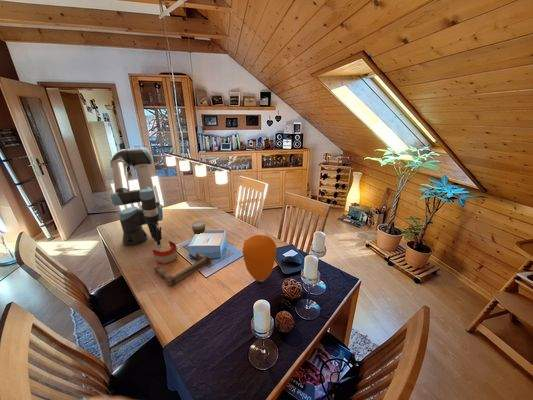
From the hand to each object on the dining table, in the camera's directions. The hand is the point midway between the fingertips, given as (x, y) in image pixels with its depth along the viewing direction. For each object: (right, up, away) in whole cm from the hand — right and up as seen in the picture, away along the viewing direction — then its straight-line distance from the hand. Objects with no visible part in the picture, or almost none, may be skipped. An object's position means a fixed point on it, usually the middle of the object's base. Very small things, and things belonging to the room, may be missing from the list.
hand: (159, 248), depth 142 cm
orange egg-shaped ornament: (+65, -12, -22) cm, 69 cm away
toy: (+8, -6, -5) cm, 11 cm away
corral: (+20, -8, -13) cm, 25 cm away
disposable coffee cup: (+21, +3, +17) cm, 27 cm away
